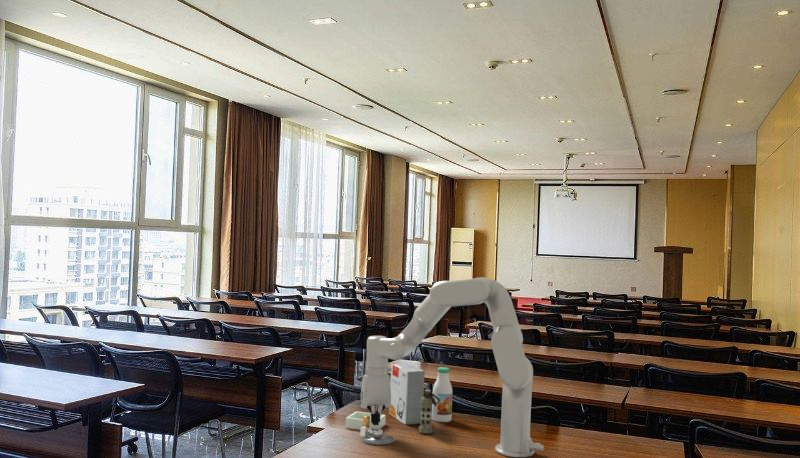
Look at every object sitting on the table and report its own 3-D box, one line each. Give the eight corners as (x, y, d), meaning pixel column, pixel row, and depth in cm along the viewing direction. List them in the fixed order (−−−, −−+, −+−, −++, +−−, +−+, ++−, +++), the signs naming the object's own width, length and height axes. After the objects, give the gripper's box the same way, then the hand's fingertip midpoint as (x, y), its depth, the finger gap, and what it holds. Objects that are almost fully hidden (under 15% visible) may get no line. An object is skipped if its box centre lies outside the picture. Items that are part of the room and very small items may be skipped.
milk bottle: (429, 421, 254) (431, 368, 255) (434, 416, 261) (436, 365, 262) (448, 423, 252) (451, 370, 252) (453, 419, 259) (455, 367, 260)
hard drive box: (388, 414, 261) (390, 363, 262) (405, 413, 264) (407, 363, 265) (405, 425, 247) (407, 371, 248) (423, 423, 250) (425, 370, 251)
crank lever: (384, 437, 225) (385, 422, 225) (376, 438, 223) (377, 423, 223) (368, 429, 233) (368, 415, 233) (360, 430, 231) (361, 416, 232)
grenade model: (436, 435, 235) (438, 392, 235) (417, 433, 236) (419, 391, 237) (439, 430, 241) (441, 389, 241) (420, 429, 242) (422, 387, 243)
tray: (385, 424, 246) (385, 415, 246) (375, 431, 236) (376, 421, 236) (355, 421, 249) (356, 411, 249) (345, 427, 239) (345, 417, 239)
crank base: (398, 438, 229) (398, 426, 229) (387, 447, 218) (388, 434, 218) (366, 434, 232) (367, 422, 232) (355, 442, 222) (355, 430, 222)
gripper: (394, 369, 239) (393, 420, 238) (353, 370, 235) (352, 422, 234) (400, 373, 232) (398, 426, 231) (358, 374, 228) (356, 428, 227)
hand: (375, 424), depth 233 cm, fingers closed
